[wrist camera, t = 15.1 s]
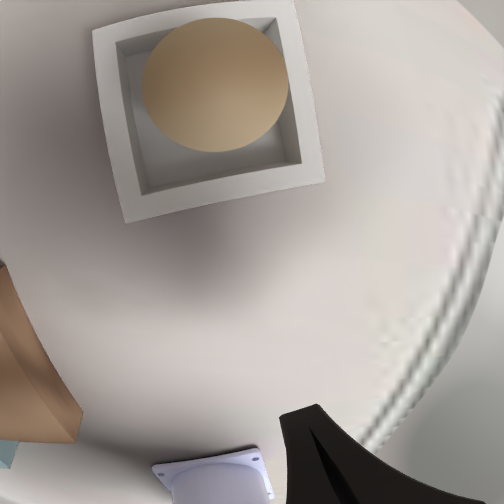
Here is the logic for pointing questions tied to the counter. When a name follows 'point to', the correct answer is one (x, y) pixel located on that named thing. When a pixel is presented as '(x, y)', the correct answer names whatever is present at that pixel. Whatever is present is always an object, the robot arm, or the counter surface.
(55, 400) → the walnut slab
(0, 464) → the rail
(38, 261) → the counter surface
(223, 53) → the rounded wooden peg
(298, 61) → the cradle
